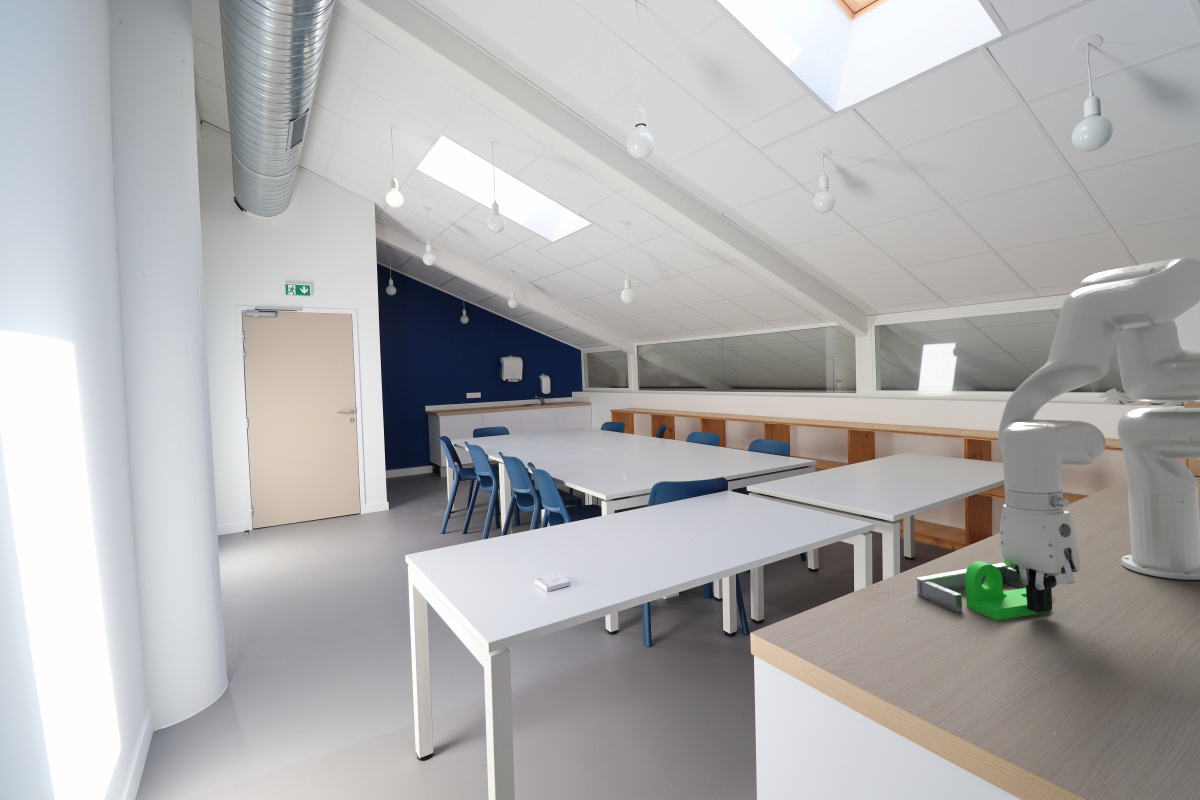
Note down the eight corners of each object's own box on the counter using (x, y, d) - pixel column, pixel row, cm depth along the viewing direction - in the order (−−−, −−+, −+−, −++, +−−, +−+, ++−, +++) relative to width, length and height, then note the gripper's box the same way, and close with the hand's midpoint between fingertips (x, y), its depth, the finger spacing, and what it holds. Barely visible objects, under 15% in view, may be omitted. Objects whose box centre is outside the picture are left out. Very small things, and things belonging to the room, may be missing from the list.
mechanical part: (996, 621, 91) (993, 573, 91) (966, 607, 97) (964, 562, 97) (1058, 611, 93) (1055, 565, 93) (1025, 598, 99) (1023, 555, 99)
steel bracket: (1003, 579, 108) (1002, 562, 108) (1048, 594, 99) (1047, 576, 99) (917, 594, 103) (916, 577, 103) (956, 612, 95) (955, 593, 95)
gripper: (1101, 506, 84) (1108, 624, 84) (1008, 490, 98) (1015, 591, 99) (1062, 512, 82) (1069, 632, 82) (974, 494, 97) (980, 597, 97)
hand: (1039, 609), depth 91 cm, fingers closed
